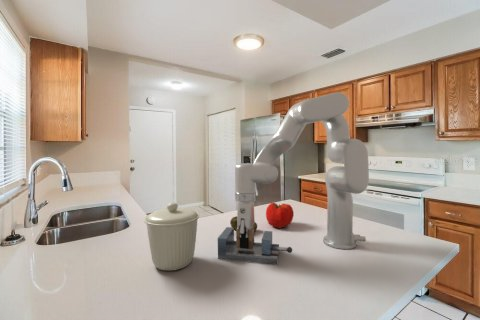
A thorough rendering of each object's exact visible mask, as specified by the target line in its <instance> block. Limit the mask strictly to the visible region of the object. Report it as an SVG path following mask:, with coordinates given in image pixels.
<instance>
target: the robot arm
mask: <svg viewBox="0 0 480 320" xmlns="http://www.w3.org/2000/svg"><path fill="white" fill-rule="evenodd" d="M346 95H347V94H344V93H342V92H332V93H328V94H324V95H321V96H316V97H313V98H308V99H305V100H302V101H300V102H297V103H295V104H293V105H292V106H291V107H290V108H289V109H288V111H287V112H286V114H285V116H284V118H283V120H282V121H281V123H280V124H279V127H277V129H276V131H275V132H274V134H273V135H272V137H271V138H270V139H269V140H268V142H267V143H266V144H265V145H264V146H263V147H262V149H261V150H260V152H259V153H258V154H257V156H256V158H255V160H254V162H253V163H247V162H245V163H237V164H235V167H234V186H235V187H234V194H235V195H234V198H235V200H234V201H235V202H236V203H237V208H236V209H237V215H236V216H237V227H238V229H239V230H240V248H244V249H248V248H249V237H248V230H251V229H252V227H253V225H254V222H255V223H256V221H255V205H254V202H256V183H257V184H272V183H274V182H275V181H277V179H278V177H279V170H278V167H276V165H274V164H275V162H276V161H277V160H278V158H279V157H281V156H282V155H283V154H285V153H286V152H288V151H289V150H291V149H292V148H293V147H294V146H295V145H296V143H297V141H298V139H299V137H300V136H301V134H302V132H303V130H304V129H305V127H306V126H307V125H308V124H313V123H318V122H321V124H322V125H323V126H324V127H325V131H326V132H325V133H326V146H327V147H326V150H327V151H326V152H327V157H328V159H329V161H331V162H332V163H335V164H344V166H342V165H341V166H339V165H337V166H332V167H331V168H329V169H328V170H327V171H326V173H325V177H324V179H325V180H324V181H325V188H326V194H327V195H326V198H327V203H326V204H327V205H326V206H327V207H326V208H327V209H326V210H327V219H326V220H327V224H326V225H327V228H326V235H325V236H324V237H323V239H322V241H323V243H324V244H326V246H329V247H331V248H336V249H339V250H341V249H342V250H351V249H355V248H356V247H357V245H358V243H357V242H366V241H367V240H366V239H367V238H366V236H361V234H355V233H354V232H353V227H354V226H353V223H354V222H353V219H354V218H353V217H354V216H353V215H354V214H353V207H354V202H353V201H354V200H353V196H352V194H355V195H357V194H362V193H364V192H365V191H366V189H367V188H368V186H369V180H370V179H369V177H370V173H369V152H368V148H367V147H366V144H365V143H364V142H363V141H362V140H361V139H357V138H351V136H350V127H349V122H348V121H347V119H346V117H345V116H344V114H346V112H347V111H348V109H349V106H350V101H349V98H348V96H346ZM244 227H246V228H247V229H244ZM244 231H246V232H244Z"/></svg>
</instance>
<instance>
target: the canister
mask: <svg viewBox="0 0 480 320" xmlns="http://www.w3.org/2000/svg"><path fill="white" fill-rule="evenodd" d="M199 218H200V213H199V212H198V211H196V210H194V209H192V208H190V207H189V208H188V207H179V205H178V203H176V202H169V203H168V204H167V206H166V208H162V209H158V210H155V211H153V212H151V213H150V214H148V215H147V216H146V217H144V219H143V222H144V224H146V229H147V236H148V237H147V238H148V242H149V243H148V244H149V251H150V255H151V260H152V263H153V265H154V267H156V268H157V269H158V270H161V271H165V272H167V271H169V272H170V271H177V270H181V269H184V268H185V267H186V266H187V267H188V265H190V264H191V262H192V261H193V259H194V256H195V250H196V242H197V241H196V239H197V231H198V219H199Z"/></svg>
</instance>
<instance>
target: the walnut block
mask: <svg viewBox="0 0 480 320" xmlns="http://www.w3.org/2000/svg"><path fill="white" fill-rule="evenodd" d="M244 229H247V228H246V227H244ZM244 232H246V231H244ZM235 235H236V236H235V238H236V239H235V241H236V248H240V230H239V229H238V227H237V229H236V231H235ZM248 237H249V248H248V249H253V247H254V242H255V231H254V227H252V229H251V230H248ZM242 249H244V248H242Z"/></svg>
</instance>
